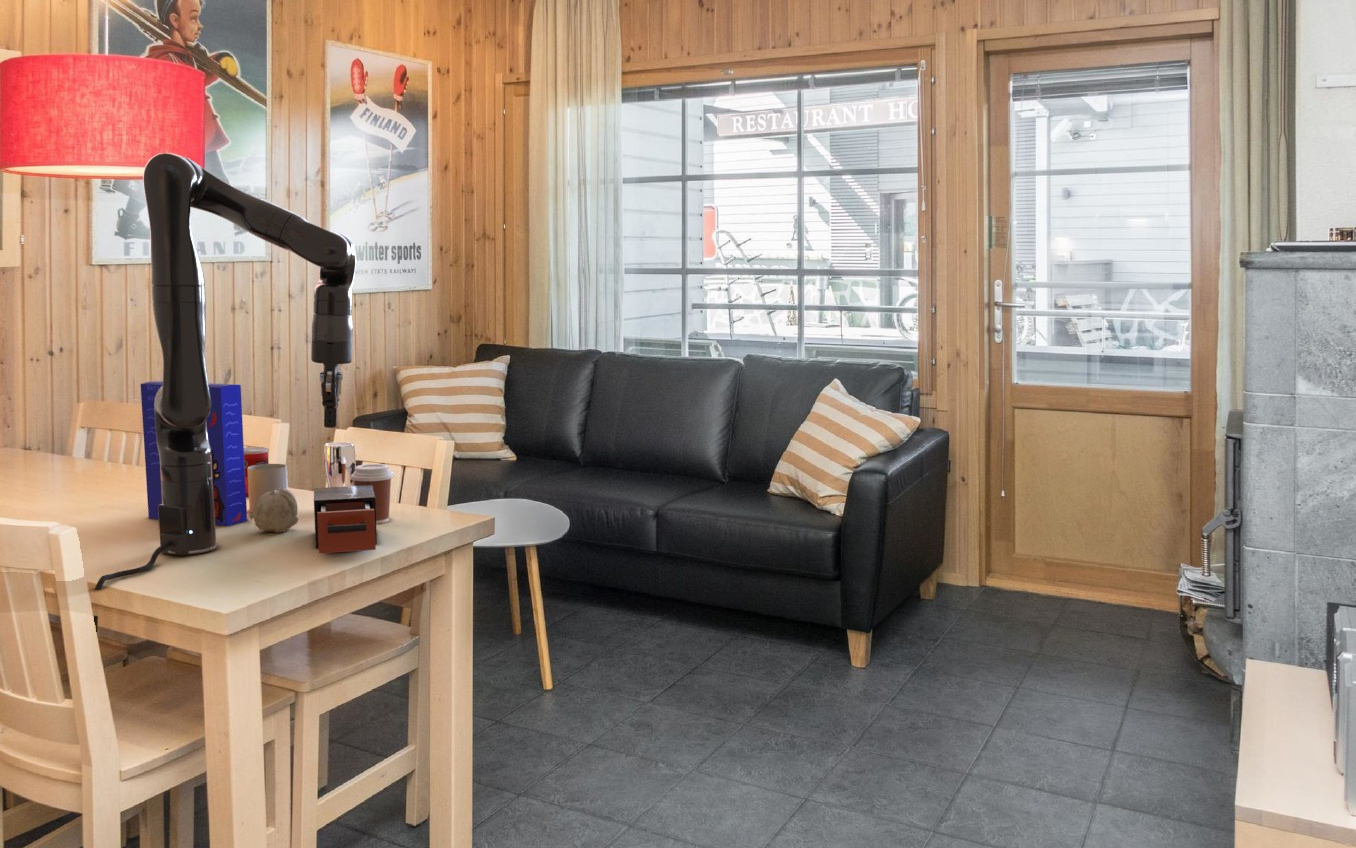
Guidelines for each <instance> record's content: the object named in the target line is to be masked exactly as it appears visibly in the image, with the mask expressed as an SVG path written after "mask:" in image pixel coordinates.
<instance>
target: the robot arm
mask: <svg viewBox="0 0 1356 848" xmlns="http://www.w3.org/2000/svg"><path fill="white" fill-rule="evenodd" d="M142 184H143V191H144V198H145V203H146V210H147V216H148V223H149V234H150V236H149V237H150V267H151V298H152V299H151V301H152V302H151V303H152V311H153V317H154V322H155V327H156V332H157V336H158V339H159V344H160V347H161V348H160V349H161V354H162V365H163V366H162V367H163V370H162V381H163V385H162V386H161V387H160V389H159V390H158V392H157V394H156V396H155V402H154V411H155V425H156V437H157V447H158V451H159V457H160V472H161V490H162V504H159V505H158V514H159V519H158V527H159V529H158V530H159V531H158V532H159V545H160V546H159V547H157V548H156V549H155V550H154V551H153V553H152V555H151V557H150V559H149V561H148V562H147V563H146V564H144V565H141V566H138V567H136V568H130V569H125V570H121V571H116V572H113V573H108V574H103V575H101V577H100V578H99V579H98V581H97V582H96V584H95V587H94V591H100V590H102V589H103V586H104V584H105V582H106V581H111V580H115V579H118V578H123V577H127V576H133V575H137V574H140V573H143V572H146V571H148V570H150V569H151V568H152V567H153V566H154V565H155V564H156V561H157V559H158V557H159V555H160V554H167V555H171V556H172V555H174V556H179V557H186V556H189V555H198V554H205V553H208V552H211V551H214V550H216V549H217V548H218V543H217V532H216V531H217V530H216V529H217V528H216V525H215V510H214V491H213V472H212V453H211V447H210V444H209V439H208V433H207V418H208V417H209V414H210V411H211V397H210V391H209V385H208V383H209V379H208V373H207V372H208V371H207V366H206V365H207V364H206V353H205V352H206V323H207V301H206V281H205V280H206V279H205V273H204V270H203V266H202V263H201V259H200V256H199V254H198V250H197V248H196V244H195V242H194V237H193V233H192V226H191V225H192V223H191V208H192V209H197V210H200V211H204V212H207V213H210V214H213V215H216V216H218V217H220V218H222V219H225V220H227V221H228V222H231V223H232V224H234V225H236V226H238V227H239V228H241V229H242V230H244V231H245V232H248V233H249V234H251V235H253V236H254V237H256V238H259V239H261V240H263V241H266V242H267V243H270V244H271V245H274V246H276V247H278V248H281V249H283V250H284V251H285V250H286V251H289V252H291V253H293V254H295V255H297V256H298V257H300V258H301V259H303V260H305V261H307V262H309V263H311V264H313V265H315V266H316V267H319V274H318V275H319V277H318V283H317V284H316V286H315V287H314V292H313V312H312V313H313V316H312V322H311V349H310V350H311V353H310V359H311V362H312V363H315V364H323V371H321V372H319V382H320V396H322V397H321V398H322V401H321V405H322V407H323V409H324V410H323V411H324V412H323V418H324V419H323V426H324V427H325V428H326V429H335V428H336V427H337V425H338V423H337V421H338V407H339V403H340V395H341V394H342V381H343V376H344V375H343V373H344V372H343V371H340V365H349V364H351V363H352V362H353V339H354V338H353V333H354V331H353V330H354V327H353V325H354V324H353V317H352V316H353V285H354V281H355V274H356V268H357V267H356V266H357V249H356V245H355V243H354V241H353V240H352V239H351V238H350V237H349V236H348V235H346V234H343V233H340V232H334V231H330V230H328V229H325V228H323V227H321V226H320V225H319V226H318V225H316V224H313V223H312V222H309V221H308V220H307V219H306V218H305V217H303V216H301V215H299V214H297V213H295V212H293V211H290V210H288V209H286V208H284V207H281V206H279V205H277V204H275V203H272V202H271V201H268V200H265V199H262V198H260V197H258V196H256V195H253V194H250V193H247V192H245V191H244V190H241V189H238V188H237V187H234V186H232V185H231V184H230V183H227V182H225V181H224V180H222V179H221V178H219V177H217V176H216V175H214V174H213V173H211V172H209V171H208V170H206V169H205V168H204V167H202V166H201V165H199V164H197V163H196V162H195V161H194V160H192V159H191V158H189V157H186V156H183V155H180V154H179V155H178V154H175V153H170V152H162V153H158V154H156V155H154V156H152V157H150V159H149V160H148V161H147V163H146V164H145V166H144V169H143V174H142ZM93 615H94V614H93ZM94 622H95V625H96V632H97V633H98V624H99V616H98V615H94Z"/></svg>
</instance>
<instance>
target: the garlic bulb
mask: <svg viewBox="0 0 1356 848" xmlns="http://www.w3.org/2000/svg"><path fill="white" fill-rule="evenodd" d="M247 517H248V518H249V519H250V520H253V522H254V523H255V527H257V529H258V530H260V531H261V532H262V533H275V534H277V533H285V532H287V531H288V530H289V529H291V528H292V527H294V526H296V524H298V522H299V517H298V502H297V499H296V497H295V496H294V494H293V493H292V492H291V490H289V488H288V489H285V488H281V489H279V490H273V491H271V492H267V493H265V494H263V495H262V496H260V497H259V498H258V499H257V500H256V502H255V505H254V507H253V513H248V514H247Z"/></svg>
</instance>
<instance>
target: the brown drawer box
mask: <svg viewBox="0 0 1356 848" xmlns="http://www.w3.org/2000/svg"><path fill="white" fill-rule="evenodd" d="M317 519H318V543H319V548H318V554H331V553H333V554H335V553H346V552H360V551H363V552H364V551H375V550H377V547H376V545H375V517H374V509H370V507H369V502H368V501H367V502H350V503H332V504H321V512H317Z"/></svg>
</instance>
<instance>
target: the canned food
mask: <svg viewBox="0 0 1356 848" xmlns="http://www.w3.org/2000/svg"><path fill="white" fill-rule="evenodd" d="M244 463H245V483H246V497H249V490H248V469H247V468H248V467H249V466H253V465H260V464H270V463H269V450H268V447H263V446H249V447H248V446H247V447H246V446H244Z"/></svg>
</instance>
